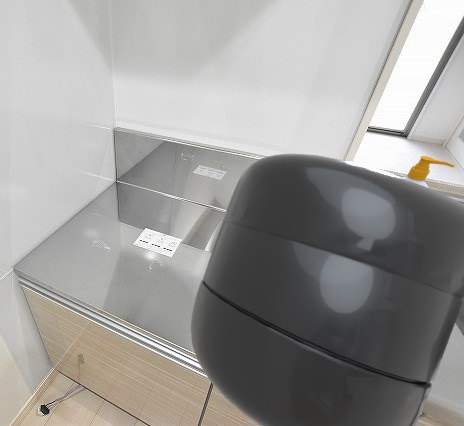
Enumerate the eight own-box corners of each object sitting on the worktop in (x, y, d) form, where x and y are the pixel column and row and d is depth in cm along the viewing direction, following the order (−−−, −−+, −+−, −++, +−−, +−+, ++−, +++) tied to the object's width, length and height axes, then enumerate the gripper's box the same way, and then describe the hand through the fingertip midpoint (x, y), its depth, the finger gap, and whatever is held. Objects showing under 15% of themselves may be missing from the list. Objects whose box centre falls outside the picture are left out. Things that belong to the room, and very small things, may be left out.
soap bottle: (398, 251, 78) (451, 170, 64) (359, 234, 84) (399, 157, 70) (408, 237, 82) (459, 159, 68) (370, 222, 88) (410, 147, 74)
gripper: (400, 263, 37) (516, 251, 39) (329, 201, 49) (421, 194, 50) (374, 300, 42) (479, 289, 43) (314, 236, 53) (399, 228, 55)
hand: (447, 238), depth 47 cm, fingers closed on candle, 5 cm apart
